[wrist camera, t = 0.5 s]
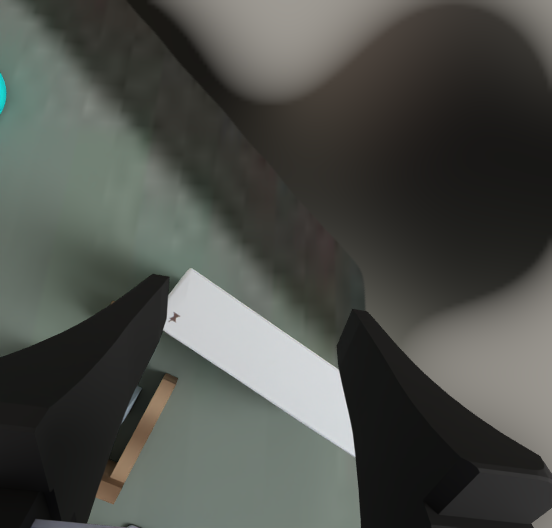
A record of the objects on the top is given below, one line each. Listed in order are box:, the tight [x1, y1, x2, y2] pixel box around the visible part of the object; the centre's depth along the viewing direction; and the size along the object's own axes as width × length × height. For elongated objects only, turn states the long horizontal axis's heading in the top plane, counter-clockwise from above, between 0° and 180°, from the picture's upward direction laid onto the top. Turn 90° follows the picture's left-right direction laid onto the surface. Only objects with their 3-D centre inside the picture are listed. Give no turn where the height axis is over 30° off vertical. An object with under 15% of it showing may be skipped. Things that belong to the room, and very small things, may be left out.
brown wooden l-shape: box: [96, 373, 178, 504], centre depth 34 cm, size 12×14×4 cm
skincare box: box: [163, 268, 356, 458], centre depth 32 cm, size 21×5×16 cm, turn 55°
